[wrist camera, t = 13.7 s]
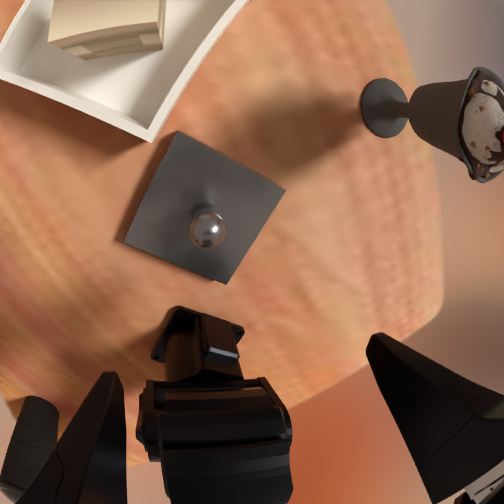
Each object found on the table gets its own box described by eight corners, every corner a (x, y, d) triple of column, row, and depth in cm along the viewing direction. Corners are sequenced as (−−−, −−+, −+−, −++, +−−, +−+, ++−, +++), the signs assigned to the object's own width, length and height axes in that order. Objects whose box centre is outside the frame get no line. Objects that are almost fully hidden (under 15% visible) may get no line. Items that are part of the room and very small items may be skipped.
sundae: (336, 119, 19) (533, 170, 6) (373, 52, 17) (555, 52, 4) (393, 163, 22) (550, 240, 9) (423, 101, 20) (579, 141, 7)
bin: (157, 136, 17) (151, 143, 13) (16, 76, 12) (-14, 74, 8) (255, -7, 13) (273, -29, 10) (111, -61, 8) (102, -87, 5)
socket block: (163, 49, 14) (156, 21, 9) (85, 60, 13) (47, 42, 8) (168, -16, 12) (167, -61, 6) (92, -6, 10) (63, -42, 5)
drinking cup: (47, 387, 24) (28, 550, 7) (79, 423, 28) (77, 563, 10) (5, 388, 23) (-22, 527, 5) (37, 422, 26) (26, 547, 9)
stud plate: (223, 276, 23) (235, 314, 19) (126, 235, 19) (114, 268, 15) (280, 186, 20) (306, 207, 16) (178, 129, 17) (178, 135, 13)
